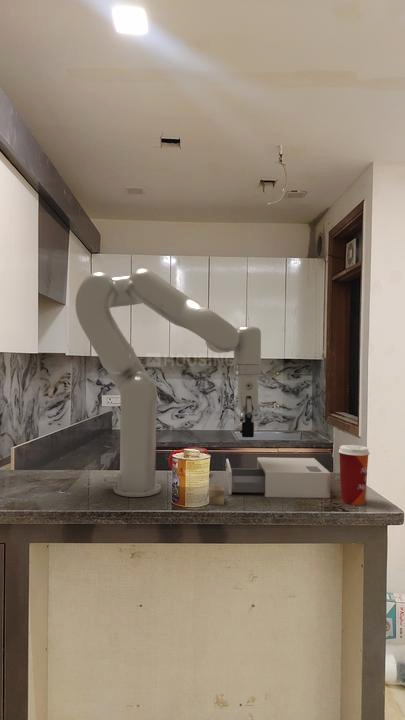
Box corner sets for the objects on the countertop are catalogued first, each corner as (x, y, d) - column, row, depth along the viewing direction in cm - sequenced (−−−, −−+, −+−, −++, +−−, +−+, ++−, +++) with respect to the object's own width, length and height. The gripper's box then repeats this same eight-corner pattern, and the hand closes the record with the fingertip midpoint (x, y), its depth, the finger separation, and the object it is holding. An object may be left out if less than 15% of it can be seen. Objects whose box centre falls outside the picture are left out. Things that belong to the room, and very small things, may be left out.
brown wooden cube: (209, 504, 116) (209, 490, 116) (209, 500, 120) (209, 486, 120) (223, 504, 116) (224, 490, 116) (223, 500, 120) (223, 486, 120)
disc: (258, 431, 129) (258, 424, 129) (237, 431, 129) (237, 423, 129) (256, 427, 135) (256, 420, 135) (235, 427, 135) (235, 420, 135)
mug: (170, 471, 149) (170, 446, 149) (207, 472, 148) (208, 447, 148) (166, 477, 141) (166, 451, 141) (205, 478, 140) (206, 452, 140)
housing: (265, 496, 123) (265, 471, 123) (257, 479, 141) (257, 456, 141) (330, 497, 123) (330, 472, 123) (313, 479, 141) (313, 457, 141)
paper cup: (371, 507, 115) (372, 450, 115) (338, 505, 117) (339, 449, 117) (366, 498, 123) (367, 445, 123) (336, 496, 125) (337, 443, 125)
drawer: (227, 494, 124) (228, 471, 124) (224, 478, 140) (224, 458, 140) (292, 495, 124) (292, 472, 124) (281, 479, 140) (282, 459, 140)
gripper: (264, 372, 123) (264, 440, 123) (256, 370, 140) (256, 430, 140) (236, 371, 123) (235, 440, 123) (231, 369, 140) (231, 430, 140)
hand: (246, 434), depth 132 cm, fingers closed on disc, 5 cm apart
